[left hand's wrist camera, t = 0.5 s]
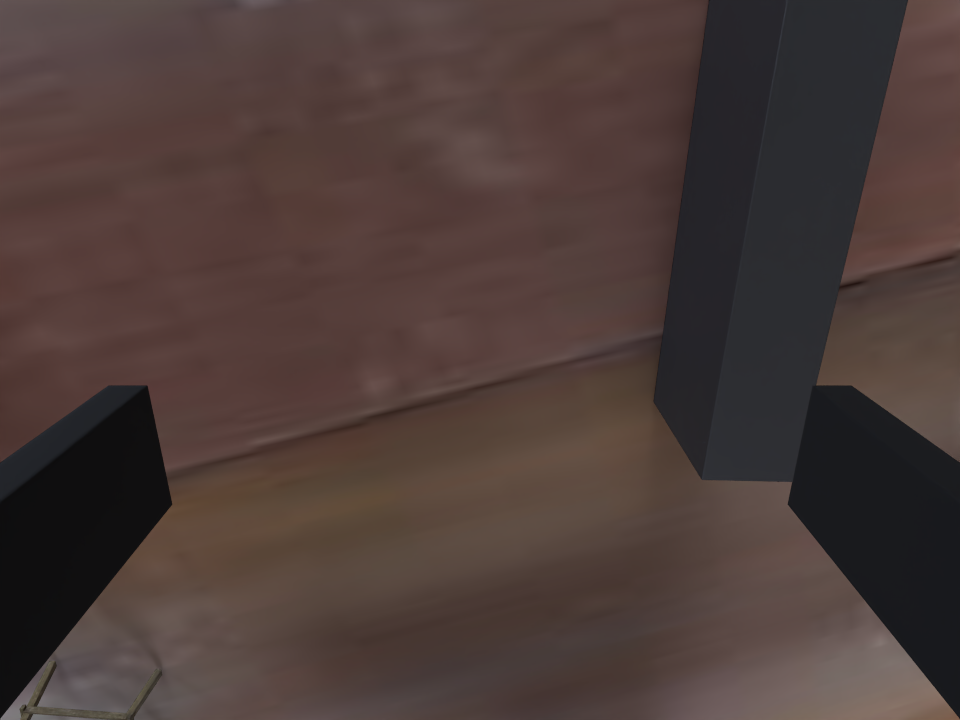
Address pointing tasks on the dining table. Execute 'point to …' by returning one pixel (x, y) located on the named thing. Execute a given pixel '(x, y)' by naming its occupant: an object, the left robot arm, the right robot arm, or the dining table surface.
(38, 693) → the miniature windmill
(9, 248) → the dining table surface
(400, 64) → the dining table surface
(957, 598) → the left robot arm
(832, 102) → the bar
